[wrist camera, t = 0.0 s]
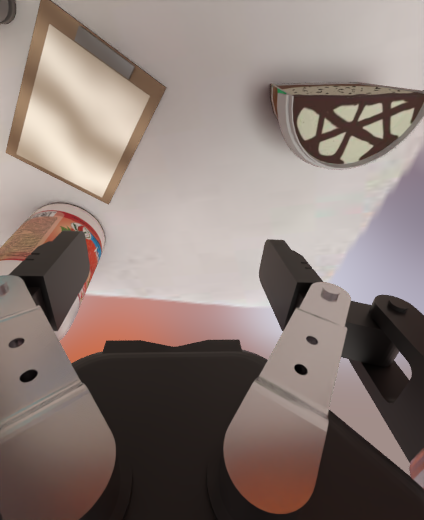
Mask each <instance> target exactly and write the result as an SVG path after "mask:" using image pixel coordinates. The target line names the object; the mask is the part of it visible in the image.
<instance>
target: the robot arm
mask: <svg viewBox="0 0 424 520" xmlns="http://www.w3.org/2000/svg"><path fill="white" fill-rule="evenodd" d="M89 272H90V262H89V256H88V250H87V243H86V237H85V234H84V232H83V231H68V230H63V231H62V232H61V233H60V234H59V235H58V236H57V237H56V238H55V239H54V240H53V241H48V242H46V243H44V244H42V245H40V246H38V247H37V248H36V249H35V250H34V251H33V252H32V253H31V255H29V256H27V257H26V258H25V260H23V261H22V262H21V263H20V264H19V265H18V266H17V267H16V268H15V269H14V270H13V271H12V272H11V273H10V274H9V275H2V276H0V520H424V315H423V314H422V313H420V312H419V311H418V310H417V309H416V308H415V307H414V306H412V305H411V304H410V303H408V302H406V301H404V300H402V299H399V298H397V297H394V296H389V295H379V296H377V297H375V299H374V301H373V303H372V305H368V304H363V303H358V302H354V301H351V297H350V295H349V294H348V293H347V292H346V291H345V290H344V289H342V288H340V287H338V286H336V285H334V284H331V283H326V282H323V281H322V280H321V278H320V277H319V276H318V275H317V273H316V272H315V271H314V270H313V269H312V267H311V266H310V265H309V264H308V262H307V261H306V260H305V259H304V257H303V256H301V255H300V254H298V253H297V252H295V251H292V250H291V249H290V248H289V246H288V245H287V244H286V242H285V241H284V240H269V239H268V240H266V242H265V245H264V250H263V255H262V259H261V264H260V269H259V278H260V282H261V284H262V287H263V289H264V291H265V293H266V296H267V298H268V300H269V302H270V305H271V307H272V309H273V311H274V314H275V316H276V318H277V320H278V322H279V325H280V327H281V329H282V331H283V333H282V335H281V337H280V339H279V341H278V342H277V344H276V346H275V348H274V350H273V351H272V353H271V355H270V357H269V359H268V360H267V359H265V358H263V357H261V356H259V355H257V354H255V353H252V352H249V351H245V350H242V349H241V345H240V341H239V340H206V341H201V342H196V343H192V344H187V345H183V346H178V347H171V346H165V345H161V344H156V343H151V342H146V341H141V340H139V341H138V340H137V341H106V343H105V346H104V349H103V352H98V353H95V354H92V355H89V356H86V357H84V358H81V359H79V360H77V361H75V362H73V363H71V362H70V361H69V359H68V357H67V355H66V353H65V351H64V349H63V348H62V346H61V344H60V342H59V340H58V338H57V336H56V334H55V333H54V331H58V330H59V328H60V327H61V325H62V323H63V321H64V319H65V318H66V316H67V314H68V312H69V310H70V309H71V307H72V305H73V303H74V302H75V300H76V298H77V296H78V294H79V293H80V291H81V289H82V287H83V285H84V284H85V282H86V280H87V278H88V276H89ZM399 351H400V353H401V354H402V355H403V356H404V357H405V359H406V360H407V361H408V362H409V364H410V366H411V370H412V377H411V379H410V381H409V380H408V378H407V377H406V376H405V374H404V373H403V371H402V370H401V369H400V368H399V366H398V365H397V364H396V362H395V361H394V359H395V358H396V356H397V354H398V353H399ZM341 357H343V358H347V359H349V361H350V363H351V364H352V366H353V368H354V369H355V371H356V373H357V374H358V376H359V378H360V379H361V381H362V383H363V385H364V386H365V388H366V390H367V391H368V393H369V394H370V396H371V398H372V400H373V401H374V403H375V405H376V407H377V408H378V410H379V411H380V413H381V415H382V417H383V418H384V420H385V422H386V423H387V425H388V427H389V429H390V430H391V432H392V434H393V435H394V437H395V439H396V440H397V442H398V444H399V445H400V447H401V449H402V450H403V452H404V454H405V456H406V457H407V459H408V461H409V462H410V467H409V471H410V476H411V477H410V476H409V475H408V474H406V473H405V472H404V471H403V470H401V469H400V468H399V467H398V466H397V465H396V464H394V463H393V462H392V461H391V460H390V459H388V458H387V457H386V456H384V455H383V454H382V453H381V452H380V451H379V450H377V449H376V448H375V447H374V446H373V445H371V444H370V443H369V442H368V441H366V440H365V439H364V438H363V437H362V436H360V435H359V434H358V433H357V432H356V431H354V430H353V429H352V428H351V427H349V426H348V425H347V424H346V423H345V422H344V421H342V420H341V419H340V418H338V417H337V416H336V415H335V414H334V413H333V412H331V411H330V410H329V407H330V402H331V398H332V394H333V389H334V385H335V381H336V376H337V372H338V367H339V363H340V359H341Z"/></svg>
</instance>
